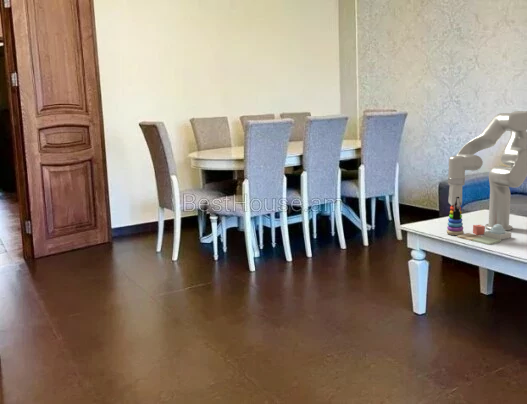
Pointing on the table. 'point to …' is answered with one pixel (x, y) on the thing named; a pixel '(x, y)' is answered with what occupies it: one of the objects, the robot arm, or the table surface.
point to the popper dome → (498, 229)
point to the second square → (486, 240)
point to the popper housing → (496, 236)
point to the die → (478, 229)
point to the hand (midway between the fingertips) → (455, 217)
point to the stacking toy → (455, 224)
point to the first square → (469, 236)
